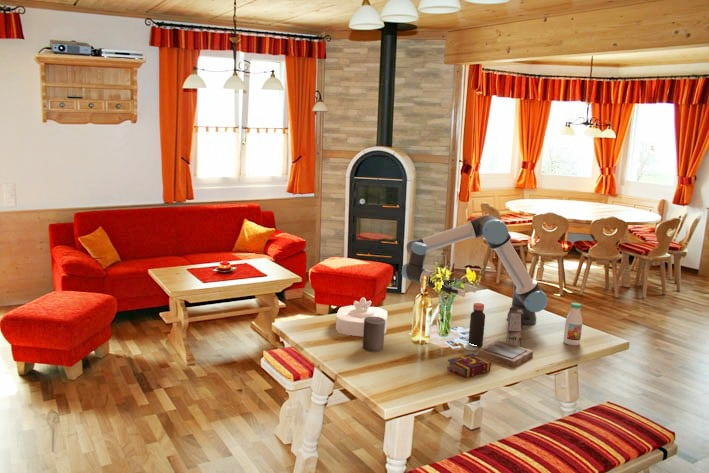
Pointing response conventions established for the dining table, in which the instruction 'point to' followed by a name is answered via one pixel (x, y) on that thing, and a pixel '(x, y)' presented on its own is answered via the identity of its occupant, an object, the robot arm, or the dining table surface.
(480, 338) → the vinegar
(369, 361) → the dining table surface
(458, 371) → the decorative book
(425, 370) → the dining table surface
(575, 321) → the milk bottle
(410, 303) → the dining table surface
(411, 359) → the dining table surface
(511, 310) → the coffee box
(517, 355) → the brown flat square board
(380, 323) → the pillar candle
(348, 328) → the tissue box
